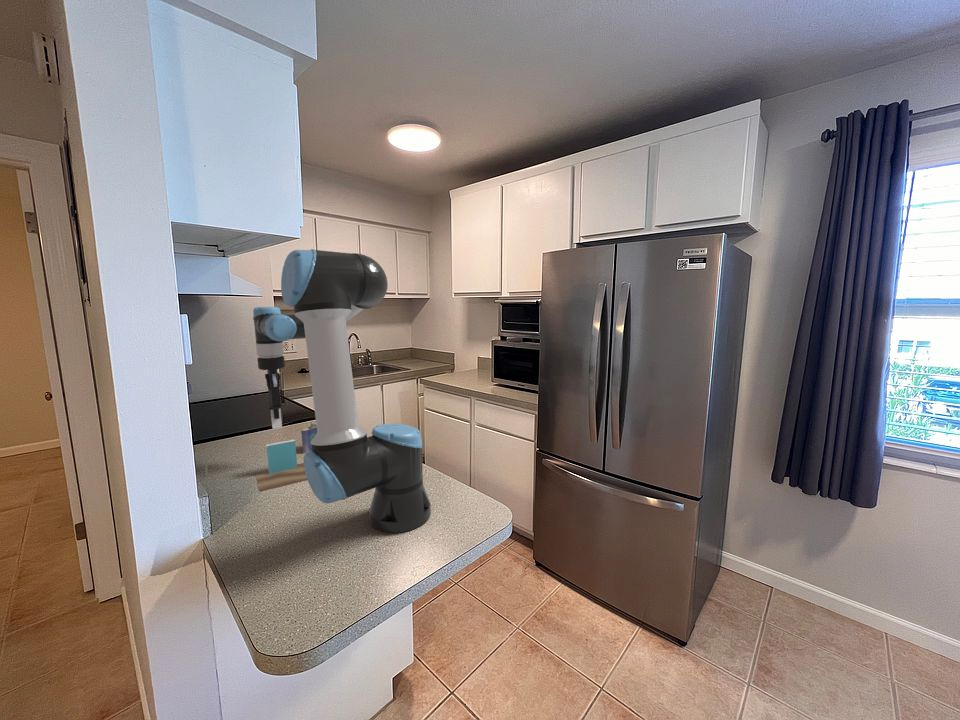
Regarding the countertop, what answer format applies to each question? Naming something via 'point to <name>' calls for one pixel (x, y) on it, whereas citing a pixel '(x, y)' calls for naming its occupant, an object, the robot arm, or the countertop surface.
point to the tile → (281, 456)
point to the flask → (308, 437)
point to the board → (280, 478)
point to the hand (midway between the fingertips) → (277, 427)
